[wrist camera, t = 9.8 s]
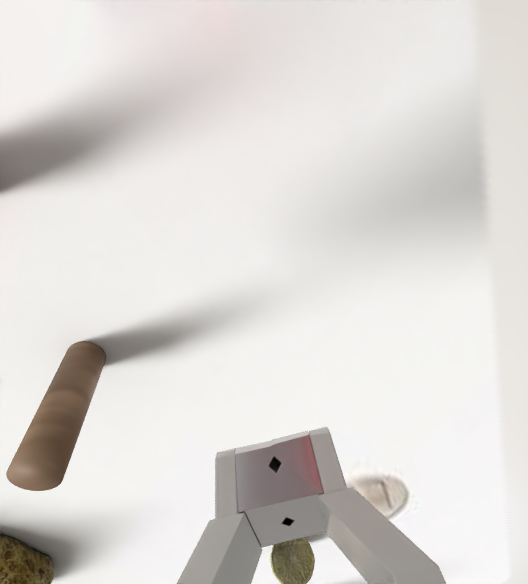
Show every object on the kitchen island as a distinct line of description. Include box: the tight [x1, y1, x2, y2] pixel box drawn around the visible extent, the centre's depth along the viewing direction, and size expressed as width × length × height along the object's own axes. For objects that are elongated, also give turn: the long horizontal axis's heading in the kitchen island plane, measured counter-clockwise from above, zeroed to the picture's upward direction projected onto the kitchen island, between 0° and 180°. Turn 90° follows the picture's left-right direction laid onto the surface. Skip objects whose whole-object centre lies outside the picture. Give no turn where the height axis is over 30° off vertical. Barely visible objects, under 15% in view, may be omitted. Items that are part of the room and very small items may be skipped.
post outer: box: [6, 342, 106, 491], centre depth 23 cm, size 3×3×9 cm
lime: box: [271, 537, 315, 584], centre depth 42 cm, size 4×5×5 cm
